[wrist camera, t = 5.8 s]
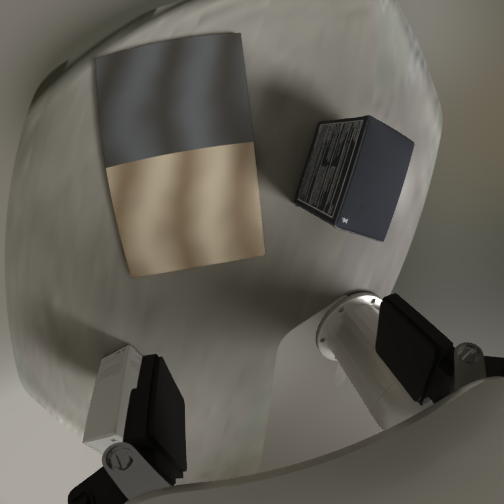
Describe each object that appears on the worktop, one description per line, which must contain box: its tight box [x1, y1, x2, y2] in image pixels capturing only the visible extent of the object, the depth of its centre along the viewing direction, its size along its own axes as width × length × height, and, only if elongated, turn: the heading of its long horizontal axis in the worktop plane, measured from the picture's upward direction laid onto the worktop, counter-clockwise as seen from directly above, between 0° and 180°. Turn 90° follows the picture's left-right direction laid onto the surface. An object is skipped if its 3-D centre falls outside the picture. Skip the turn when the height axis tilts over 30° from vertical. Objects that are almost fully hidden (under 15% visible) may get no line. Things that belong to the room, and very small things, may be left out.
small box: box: [294, 115, 415, 242], centre depth 27 cm, size 11×6×10 cm, turn 163°
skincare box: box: [83, 345, 142, 455], centre depth 30 cm, size 8×7×16 cm
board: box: [96, 33, 265, 278], centre depth 27 cm, size 16×26×1 cm, turn 6°
